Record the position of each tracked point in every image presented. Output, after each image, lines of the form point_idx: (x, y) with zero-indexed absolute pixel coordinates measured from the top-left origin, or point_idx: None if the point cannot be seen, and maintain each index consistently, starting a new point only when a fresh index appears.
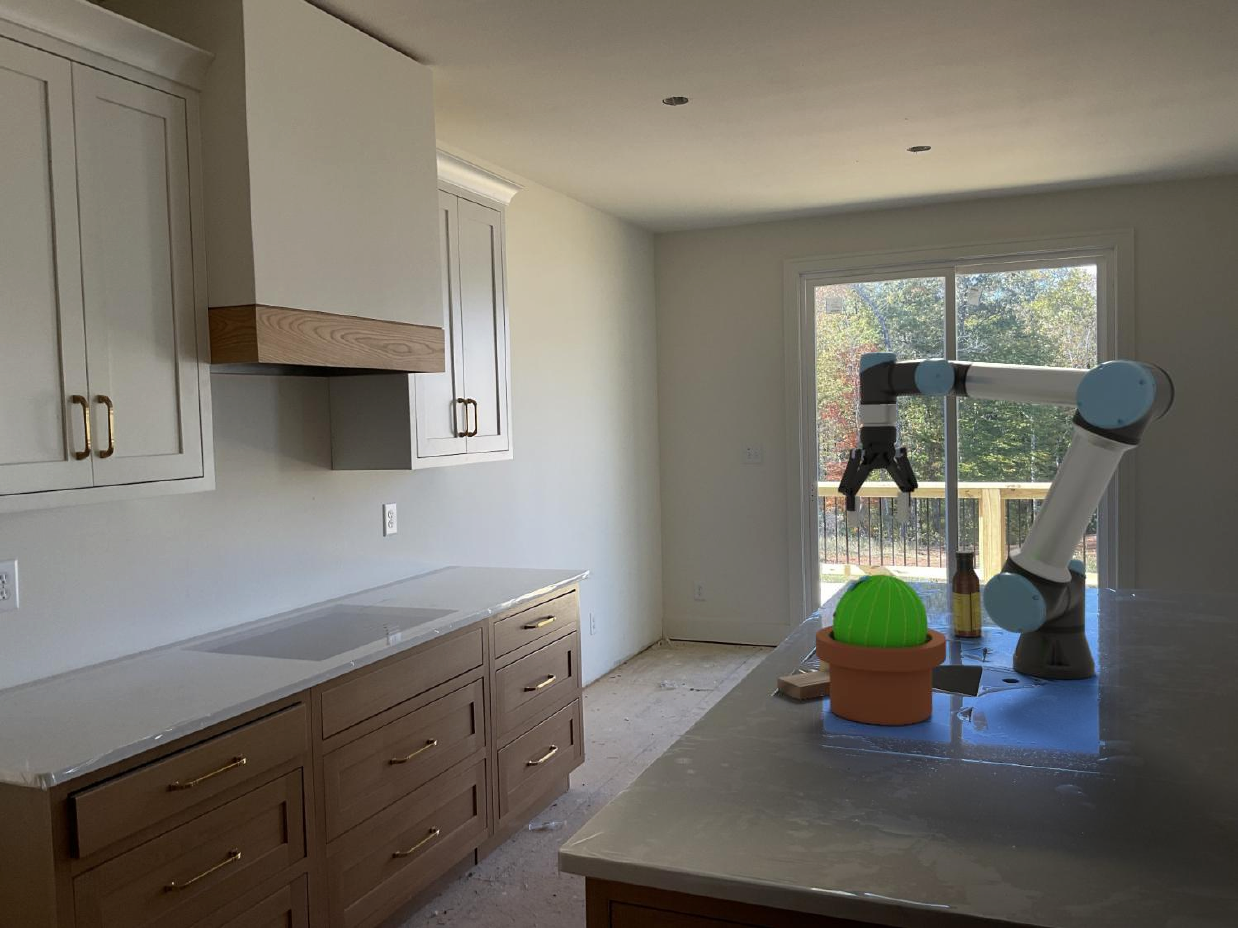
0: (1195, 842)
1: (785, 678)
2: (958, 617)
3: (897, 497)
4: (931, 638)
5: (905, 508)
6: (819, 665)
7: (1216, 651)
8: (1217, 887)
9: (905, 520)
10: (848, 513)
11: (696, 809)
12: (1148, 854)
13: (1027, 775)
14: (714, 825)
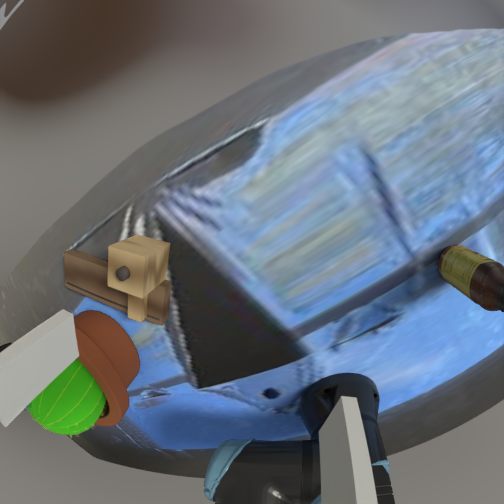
0: (120, 461)
1: (67, 259)
2: (451, 267)
3: (356, 502)
4: (105, 415)
5: (322, 480)
6: (132, 236)
7: (458, 422)
8: (104, 459)
9: (321, 435)
10: (28, 332)
11: (2, 331)
12: (101, 451)
13: (111, 427)
14: (5, 342)
